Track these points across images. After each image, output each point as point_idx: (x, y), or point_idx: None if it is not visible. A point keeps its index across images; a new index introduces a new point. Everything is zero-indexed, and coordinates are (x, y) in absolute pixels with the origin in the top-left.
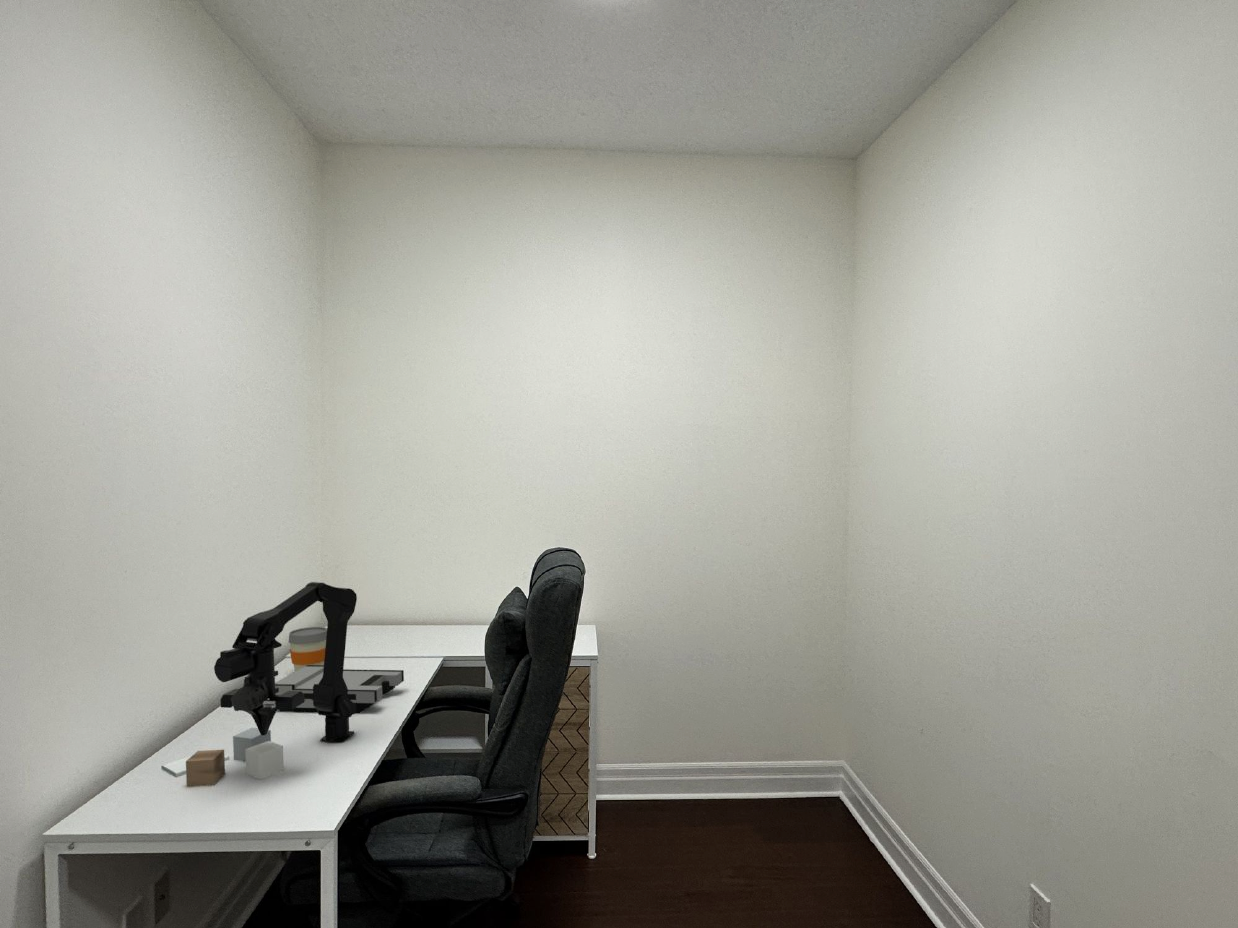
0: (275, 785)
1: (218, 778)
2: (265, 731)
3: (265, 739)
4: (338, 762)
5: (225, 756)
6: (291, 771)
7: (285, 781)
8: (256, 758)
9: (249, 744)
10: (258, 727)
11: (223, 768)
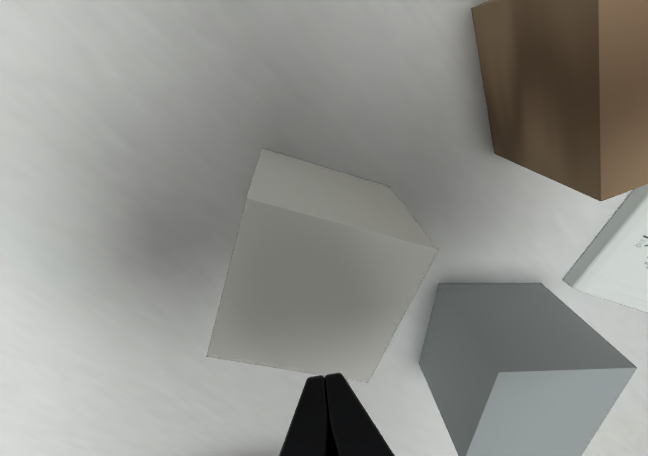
0: (102, 103)
1: (487, 72)
2: (297, 417)
3: (454, 404)
4: (62, 378)
5: (588, 280)
6: (182, 262)
7: (98, 162)
8: (289, 194)
9: (496, 342)
10: (369, 442)
11: (513, 145)
